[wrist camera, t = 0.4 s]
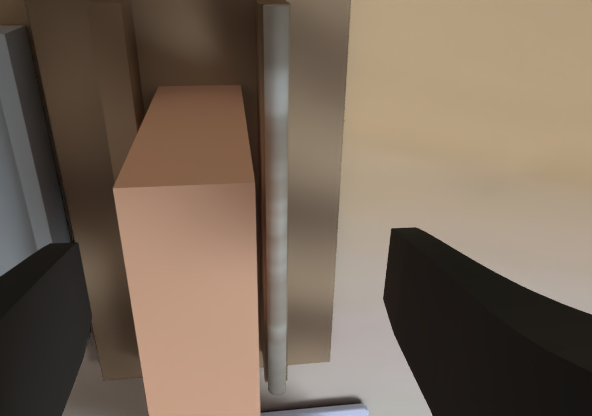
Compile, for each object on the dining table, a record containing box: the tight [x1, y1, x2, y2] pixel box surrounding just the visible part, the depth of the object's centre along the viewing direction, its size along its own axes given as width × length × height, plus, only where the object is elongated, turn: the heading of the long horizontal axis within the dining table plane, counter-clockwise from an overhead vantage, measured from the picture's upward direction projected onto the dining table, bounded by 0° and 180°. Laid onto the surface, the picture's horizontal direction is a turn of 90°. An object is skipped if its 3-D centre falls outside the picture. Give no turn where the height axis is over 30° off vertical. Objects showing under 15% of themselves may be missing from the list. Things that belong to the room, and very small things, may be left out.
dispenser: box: [25, 0, 351, 395], centre depth 20 cm, size 18×11×4 cm, turn 179°
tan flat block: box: [113, 85, 260, 416], centre depth 17 cm, size 10×3×9 cm, turn 179°
